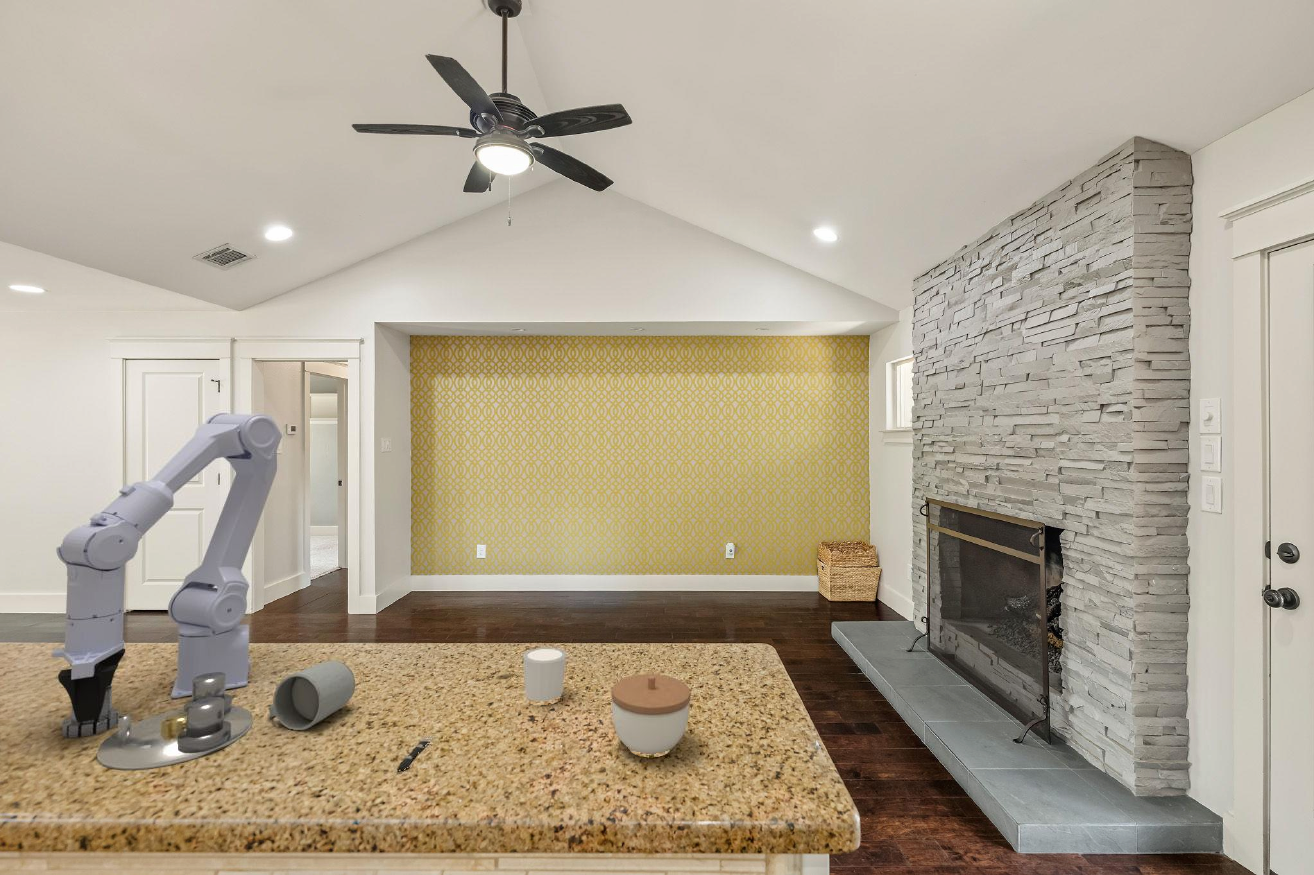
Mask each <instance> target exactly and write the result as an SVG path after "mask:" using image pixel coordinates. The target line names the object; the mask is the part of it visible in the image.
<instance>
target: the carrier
mask: <svg viewBox="0 0 1314 875" xmlns="http://www.w3.org/2000/svg"><path fill="white" fill-rule="evenodd" d="M225 682H226V674H225V673H222V672H213V673H207V674H203V675H200V676H197V677H195V678H194V679H193V680H192V695H191V700H189V701H187V702H186V703H185V704H184V705H183V708H181V709H175V710H172V711H168V712H164V713H160V714H157V715H154V716H150V717H147V718H144V719H141V720H139V721H136V722H134V723H132V714H129V713H128V714H122V715H119V718H118V724H117V731H116V732H114V733H112V734H111V735H110V736H108V737H107V738H106V739H105V740H103V741H102V742H101V744H100V745H99V747H97V748H98V749H97V751H96V752H97V754H96V756H97V762H99V764H100V765H102V766H103V767H107V768H109V769H114V770H123V771H130V770H131V771H134V770H135V771H136V770H138V771H139V770H149V769H157V768H163V767H167V766H172V765H177V764H178V765H179V764H181V763H186V762H188V761H192V760H195V759H199V758H201V757H204V756H207V755H209V754H212V753H215V752H217V751H219V750H221V749H224V748H225V747H228V746H229V745H231V744H233V743H234V742H236V741H238V740H239V739H241V738H242V737H243V736H245V735H246V734H247V733H248V732H249V730H250V729H251V728H252V725H253V722H254V721H253V720H254V718H253V714H252V712H251V711H250V710H248V709H246V708H244V707H240V706H238V705H237V706H236V705H233V696H232V695H231V694H227V693H226V689H225Z"/></svg>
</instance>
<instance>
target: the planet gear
mask: <svg viewBox="0 0 1314 875" xmlns="http://www.w3.org/2000/svg"><path fill="white" fill-rule="evenodd" d="M112 698H113V686H112V684H111V685H108V687H107V690H106V694H105V699H104V703H103V707H102V711H101V714H100V716H99V718H98V719H96V720H90V721H85V722H79V723H78V722H77V720H76V718H75V715H74V711H73V707H72V706H71V715H69V716H68V717H66V718H65V719H64V720H63V721H62V724H61V735H62V736H63V737H65V738H68V739H69V738H74V739H75V738H79V737H81V738H85V737H89V736H93V735H94V734H95V735H97V734H100V733H103V732H106V731H108V730H111V729H112V728H114V727H116V726H117V725H118V718H119V717H120V709H119V708H117V707H113V706H112V704H113V703H112Z"/></svg>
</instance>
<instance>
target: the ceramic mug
mask: <svg viewBox="0 0 1314 875" xmlns="http://www.w3.org/2000/svg"><path fill="white" fill-rule="evenodd" d="M355 689H356V679H355V675H354V673H353V670H352V669H351V668H350V667H349V665H347V664H346V663H344V662H342V661H338V660H329V661H324V662H321V663H319V664H316V665H312V666H311V667H308V668H306V669H302V670H300V671H297V672H294V673H292V674H289V675H287V676H286V677H284V678H283V679H282V680H281V681H280V682H279V683H278V685H277V687H276V689H275V691H274V694H273V699H272V700H273V701H272V703H273V704H271V705H269V706H268V711H269V714H270V715H269V716H270V717H271V718H274V717H276V719H278V722H279V723H280V724H281V725H283V726H284V727H285V728H288V729H289V730H291V729H293V730H292V731H297V730H301V731H304V730H307V729H309V728H311V727H312V726H314V725H316V724H317V723H319V722H321V721H323V720H324V719H326V718H328V717H329V716H330V715H333V713H335V712H337V711H339V710H340V709H342V708H343V707H344V706H346V704H348V703H349V701H350V700H351V699H352V697H353V695H354V692H355Z"/></svg>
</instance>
